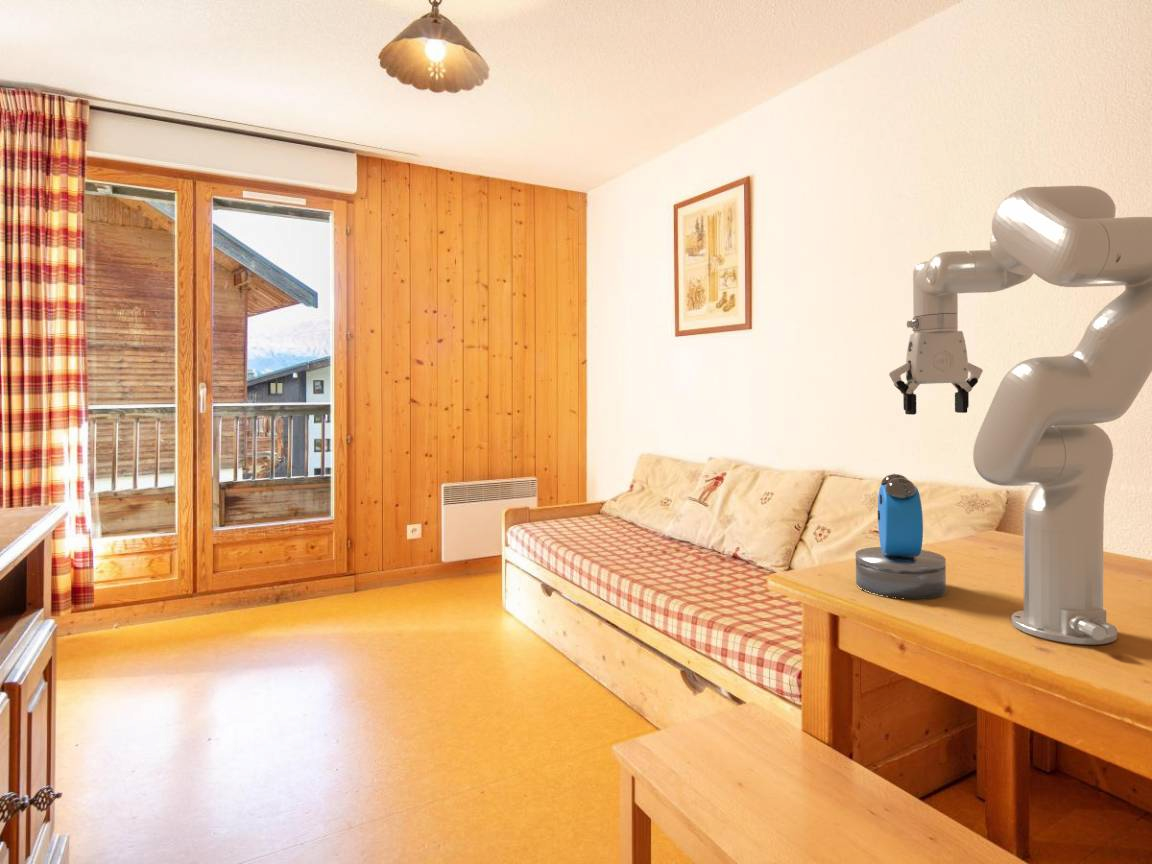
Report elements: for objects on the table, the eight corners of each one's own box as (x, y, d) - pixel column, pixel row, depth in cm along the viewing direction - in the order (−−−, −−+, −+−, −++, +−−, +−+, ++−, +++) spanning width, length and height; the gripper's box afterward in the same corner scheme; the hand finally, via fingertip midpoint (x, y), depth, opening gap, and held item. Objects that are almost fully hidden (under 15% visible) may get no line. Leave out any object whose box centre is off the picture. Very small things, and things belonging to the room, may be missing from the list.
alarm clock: (923, 565, 113) (922, 480, 112) (885, 563, 115) (884, 480, 114) (911, 548, 125) (910, 471, 125) (876, 547, 127) (875, 471, 127)
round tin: (962, 599, 112) (962, 565, 112) (874, 600, 114) (873, 566, 113) (922, 576, 127) (922, 546, 127) (844, 577, 128) (844, 547, 128)
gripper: (898, 325, 122) (899, 415, 123) (992, 321, 121) (992, 412, 122) (881, 329, 129) (882, 414, 130) (969, 326, 129) (970, 411, 130)
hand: (935, 413), depth 126 cm, fingers open, 9 cm apart
